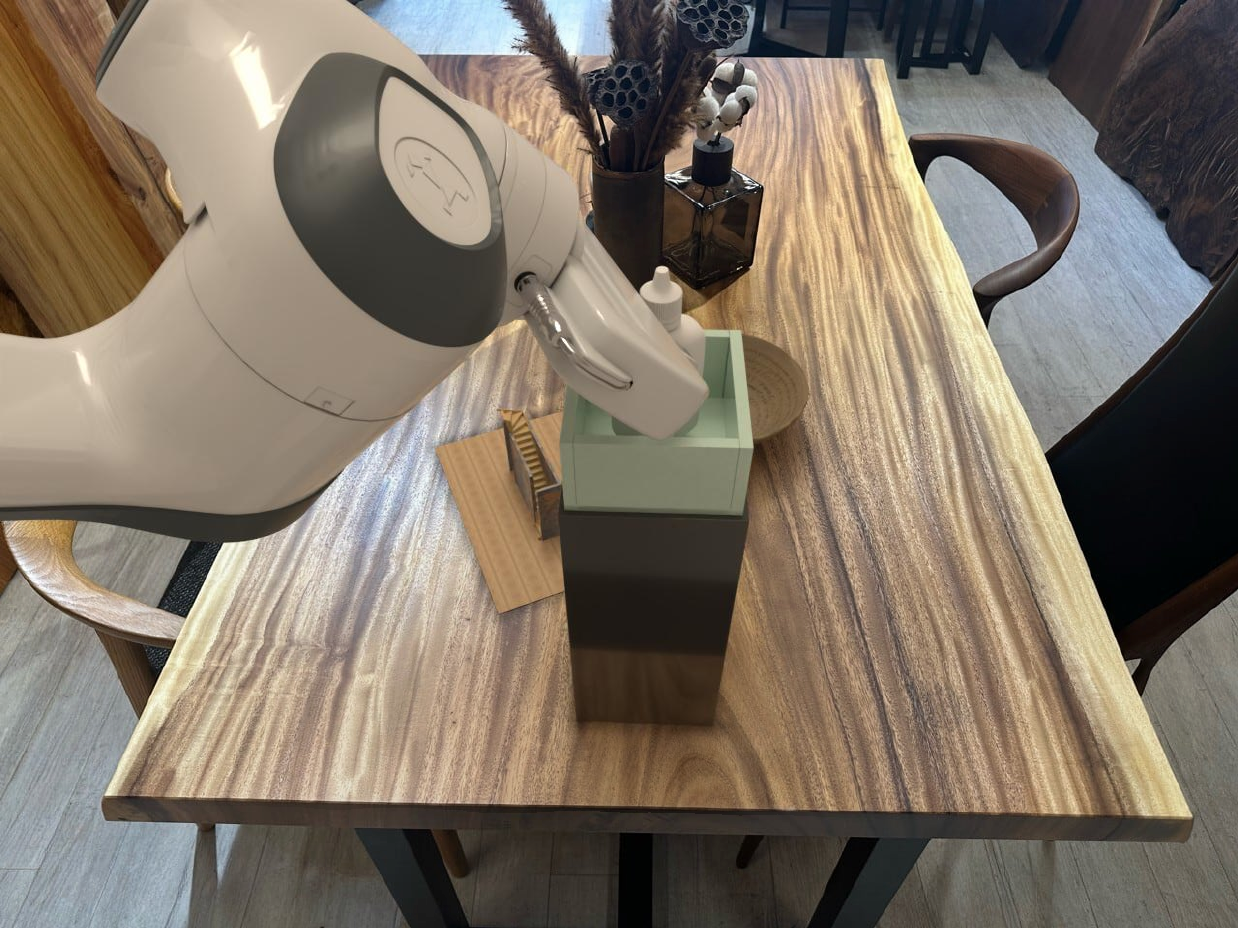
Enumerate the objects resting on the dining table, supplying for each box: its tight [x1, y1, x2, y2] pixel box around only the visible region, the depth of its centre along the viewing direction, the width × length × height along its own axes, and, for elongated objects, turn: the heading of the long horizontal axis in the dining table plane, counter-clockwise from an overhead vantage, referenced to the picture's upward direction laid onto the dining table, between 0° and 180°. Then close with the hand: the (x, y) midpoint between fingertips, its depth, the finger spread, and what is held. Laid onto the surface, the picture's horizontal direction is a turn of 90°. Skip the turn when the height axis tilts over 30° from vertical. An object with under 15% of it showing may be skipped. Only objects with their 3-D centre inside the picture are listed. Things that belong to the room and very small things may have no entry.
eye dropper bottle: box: [612, 265, 706, 437], centre depth 48 cm, size 4×6×12 cm
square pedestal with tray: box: [558, 328, 755, 727], centre depth 62 cm, size 12×12×34 cm
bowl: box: [741, 332, 810, 446], centre depth 93 cm, size 18×18×8 cm
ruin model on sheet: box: [434, 408, 564, 615], centre depth 85 cm, size 25×16×10 cm, turn 23°
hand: (667, 345), depth 48 cm, fingers closed on eye dropper bottle, 3 cm apart
